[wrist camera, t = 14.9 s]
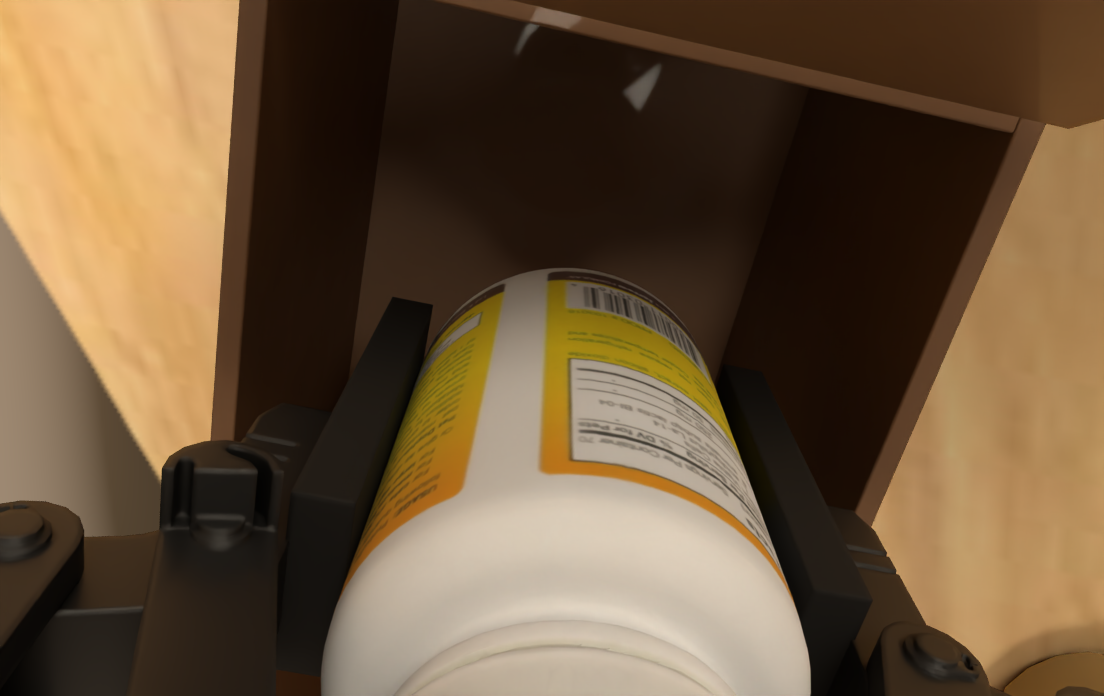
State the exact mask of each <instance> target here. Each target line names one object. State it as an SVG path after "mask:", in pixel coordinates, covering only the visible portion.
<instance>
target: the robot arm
mask: <svg viewBox="0 0 1104 696" xmlns="http://www.w3.org/2000/svg"><path fill="white" fill-rule="evenodd" d="M432 308H433V305H432V304H427V303H422V302H417V301H412V300H407V299H402V298H397V297H392V299H391V301H390V302H389V304H388V306H387V308H386V310H385V312H384V314H383V316H382V318H381V320H380V322H379V324H378V325H377V327H376V329H375V331H374V333H373V335H372V337H371V339H370V341H369V343H368V345H367V347H366V349H365V350H364V352H363V354H362V356H361V358H360V360H359V362H358V364H357V366H356V368H355V370H354V372H353V374H352V375H351V377H350V379H349V381H348V383H347V385H346V387H345V389H344V391H343V393H342V395H341V397H340V398H339V400H338V402H337V404H336V406H335V408H334V410H333V412H329V411H324V410H319V409H314V408H309V407H303V406H298V405H293V404H288V403H281V404H279V405H277V406H275V407H273V408H272V409H270V410H268V411H266V412H264V413H262V414H261V415H259V416H258V417H257V419H256V420H255V422H254V423H253V424H252V426H251V427H250V429H249V430H248V432H247V433H246V437H244V438H243V439H242V441H241V442H238V441H231V440H220V441H205V442H201V443H197V444H194V445H190V446H187V447H184V448H182V449H181V450H179V451H177V452H176V453H174V454H173V455H171V456H169V458H168V460H167V461H166V463H165V464H164V466H163V468H162V480H161V504H160V528H159V530H157V531H153V532H149V533H145V534H137V535H127V536H105V537H104V536H102V537H84V529H83V526H82V523H81V520H80V518H79V517H78V516H77V515H76V514H74V513H73V512H72V511H70V510H69V509H68V508H66V507H63V506H59V505H56V504H52V503H49V502H44V501H16V502H9V503H2V504H0V696H276V670H281V671H287V672H293V673H299V674H305V675H311V676H317V677H321V667H322V659H323V652H324V646H325V642H326V639H327V635H328V631H329V628H330V624H331V621H332V618H333V614H334V611H335V608H336V605H337V603H338V600H339V597H340V594H341V592H342V589H343V586H344V583H345V581H346V578H347V575H348V572H349V569H350V566H351V564H352V561H353V558H354V556H355V553H356V550H357V547H358V545H359V542H360V539H361V536H362V534H363V531H364V528H365V525H366V523H367V520H368V517H369V514H370V511H371V508H372V506H373V503H374V500H375V497H376V494H377V491H378V489H379V486H380V483H381V480H382V477H383V474H384V471H385V469H386V466H387V463H388V460H389V457H390V454H391V451H392V448H393V445H394V443H395V440H396V437H397V434H398V431H399V429H400V426H401V423H402V421H403V418H404V415H405V412H406V409H407V406H408V403H409V400H410V398H411V395H412V391H413V388H414V385H415V383H416V380H417V377H418V374H419V372H420V369H421V366H422V364H423V361H424V355H425V349H426V343H427V337H428V331H429V326H430V320H431V314H432ZM716 392H717V394H718V397H719V400H720V403H721V405H722V408H723V411H724V413H725V416H726V419H727V422H728V424H729V427H730V430H731V433H732V435H733V438H734V441H735V443H736V446H737V449H738V451H739V454H740V457H741V460H742V463H743V465H744V468H745V470H746V473H747V476H748V479H749V482H750V484H751V487H752V490H753V492H754V495H755V498H756V501H757V503H758V506H759V509H760V512H761V514H762V517H763V520H764V523H765V525H766V528H767V531H768V533H769V536H770V539H771V542H772V544H773V547H774V550H775V552H776V555H777V558H778V561H779V564H780V566H781V569H782V572H783V575H784V577H785V579H786V582H787V585H788V588H789V590H790V593H791V595H792V597H793V600H794V604H795V607H796V610H797V613H798V616H799V619H800V623H801V627H802V631H803V635H804V638H805V642H806V646H807V650H808V655H809V662H810V673H811V695H810V696H1012V695H1009V694H1007V693H1004V692H1002V691H999V690H997V689H995V688H993V687H991V686H989V682H988V678H987V676H986V674H985V672H984V670H983V668H982V666H981V664H980V662H979V661H978V660H977V659H976V658H975V657H974V656H973V654H972V653H971V652H970V651H969V650H968V649H967V648H966V647H964V646H963V645H962V644H960V643H959V642H957V641H956V640H955V639H953V638H952V637H950V636H949V635H947V634H945V633H943V632H941V631H939V630H937V629H934V628H932V627H930V626H928V625H926V623H925V621H924V620H923V618H922V616H921V614H920V612H919V611H918V609H917V607H916V605H915V603H914V601H913V600H912V598H911V596H910V594H909V592H908V591H907V589H906V587H905V585H904V583H903V581H902V580H901V578H900V576H899V575H896V569H895V567H894V565H893V563H892V561H891V560H890V558H889V557H886V554H887V552H886V551H885V549H884V547H883V545H882V543H881V541H880V540H879V538H878V536H877V534H876V532H875V531H874V530H873V529H872V528H871V527H870V526H869V525H868V524H867V523H866V522H864V521H863V520H862V519H861V518H860V517H859V516H858V515H857V514H856V513H855V512H854V511H853V510H849V509H844V508H838V507H833V506H828V505H826V503H825V500H824V498H823V496H822V494H821V492H820V490H819V488H818V486H817V484H816V482H815V480H814V478H813V476H812V474H811V472H810V470H809V468H808V466H807V464H806V461H805V459H804V457H803V455H802V453H801V451H800V449H799V447H798V445H797V443H796V441H795V439H794V437H793V435H792V433H791V431H790V429H789V427H788V424H787V422H786V420H785V418H784V416H783V414H782V412H781V410H780V408H779V406H778V404H777V402H776V400H775V398H774V396H773V394H772V392H771V390H770V388H769V385H768V383H767V381H766V379H765V377H764V375H763V373H762V372H761V371H756V370H751V369H746V368H741V367H736V366H731V365H727V364H723V367H722V370H721V373H720V376H719V379H718V382H717V386H716ZM1054 696H1104V693H1101V692H1098V691H1095V690H1092V689H1089V688H1086V687H1075V686H1067V687H1065V688H1063V689H1060V690H1058V691H1057V692H1056V694H1055V695H1054Z"/></svg>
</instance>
